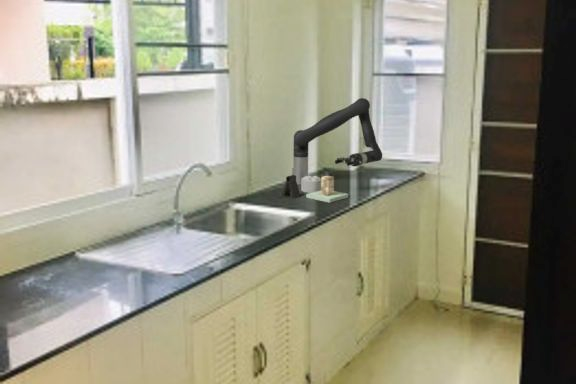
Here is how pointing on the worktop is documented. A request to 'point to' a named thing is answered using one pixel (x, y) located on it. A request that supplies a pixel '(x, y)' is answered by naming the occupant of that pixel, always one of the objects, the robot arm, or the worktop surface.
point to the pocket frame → (325, 198)
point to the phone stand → (291, 187)
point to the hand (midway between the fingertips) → (341, 162)
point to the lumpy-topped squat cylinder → (310, 184)
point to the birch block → (327, 185)
